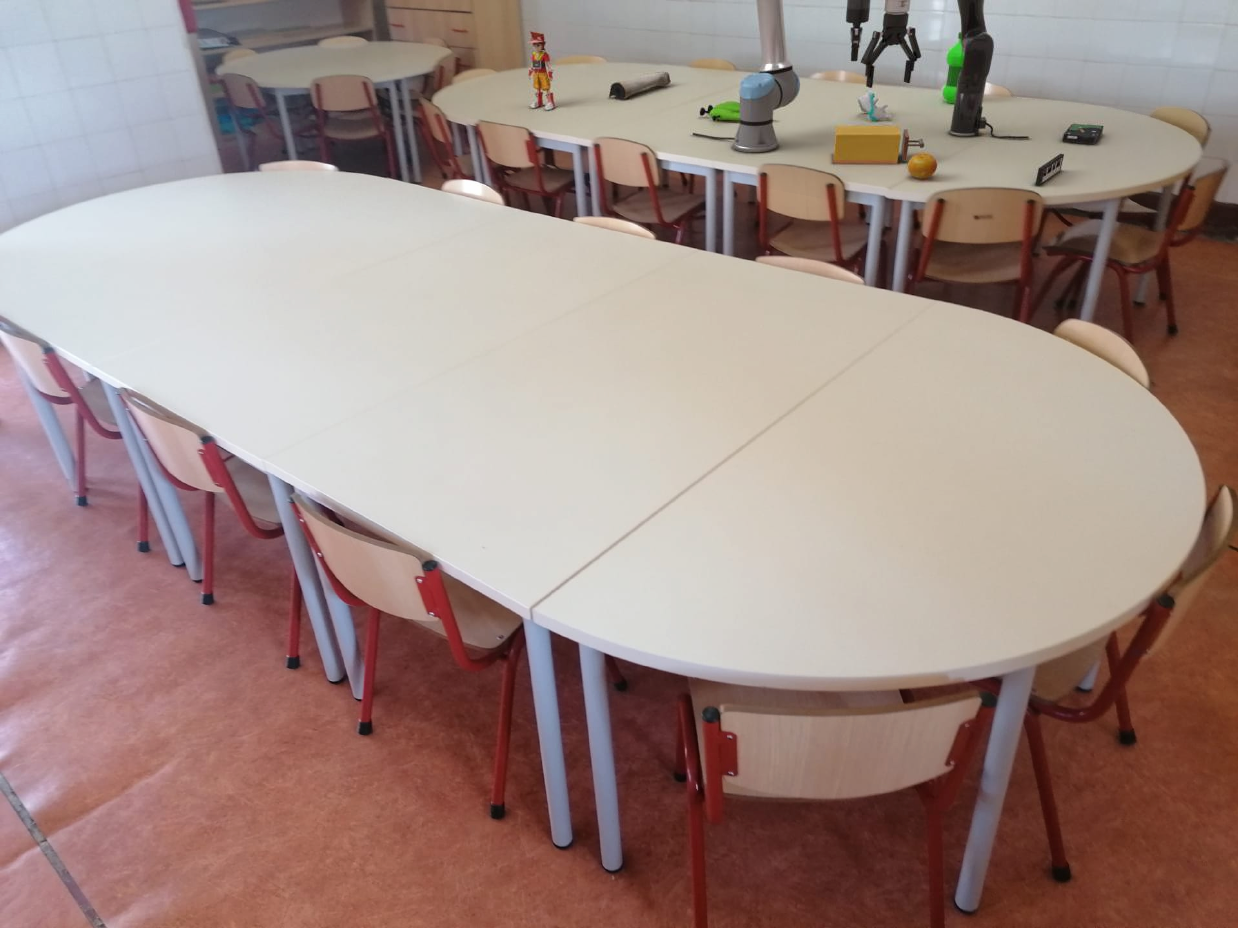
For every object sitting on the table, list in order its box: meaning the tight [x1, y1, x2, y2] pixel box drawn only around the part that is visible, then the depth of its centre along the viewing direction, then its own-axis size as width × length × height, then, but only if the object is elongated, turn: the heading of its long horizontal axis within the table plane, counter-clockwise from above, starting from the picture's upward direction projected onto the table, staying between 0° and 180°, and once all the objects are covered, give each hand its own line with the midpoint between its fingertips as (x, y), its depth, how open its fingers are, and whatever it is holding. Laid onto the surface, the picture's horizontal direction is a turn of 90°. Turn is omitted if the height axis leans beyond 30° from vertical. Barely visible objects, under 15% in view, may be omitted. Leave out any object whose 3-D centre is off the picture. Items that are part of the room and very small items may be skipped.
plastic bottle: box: [942, 31, 964, 104], centre depth 348 cm, size 10×10×25 cm
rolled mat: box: [608, 71, 672, 101], centre depth 395 cm, size 30×9×10 cm
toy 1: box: [527, 31, 556, 111], centre depth 374 cm, size 12×9×30 cm
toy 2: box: [699, 100, 777, 122], centre depth 351 cm, size 28×5×30 cm
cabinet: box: [833, 125, 902, 165], centre depth 298 cm, size 20×11×9 cm, turn 79°
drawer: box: [900, 129, 925, 161], centre depth 297 cm, size 24×9×7 cm, turn 79°
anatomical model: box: [857, 89, 892, 122], centre depth 341 cm, size 15×10×10 cm
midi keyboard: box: [1035, 153, 1065, 186], centre depth 273 cm, size 18×1×5 cm, turn 138°
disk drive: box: [1061, 123, 1105, 145], centre depth 306 cm, size 10×3×15 cm
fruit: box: [907, 152, 938, 179], centre depth 279 cm, size 8×8×8 cm
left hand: (887, 85), depth 291 cm, fingers open, 13 cm apart
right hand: (854, 58), depth 307 cm, fingers open, 8 cm apart
